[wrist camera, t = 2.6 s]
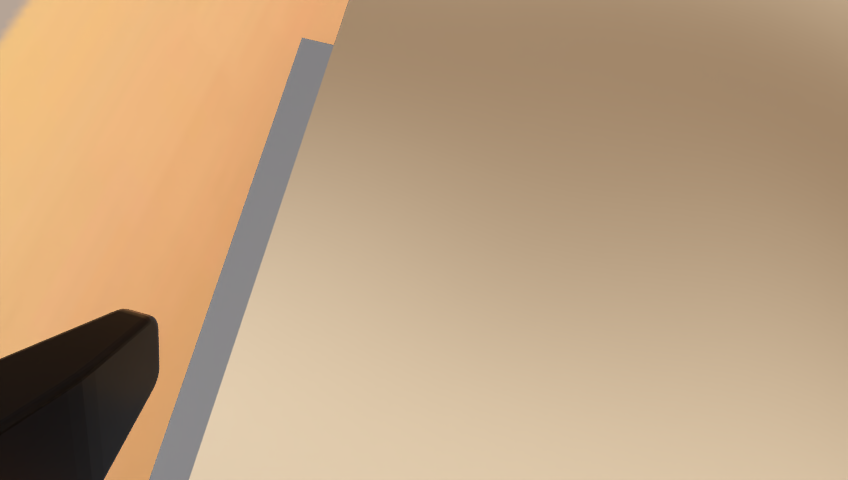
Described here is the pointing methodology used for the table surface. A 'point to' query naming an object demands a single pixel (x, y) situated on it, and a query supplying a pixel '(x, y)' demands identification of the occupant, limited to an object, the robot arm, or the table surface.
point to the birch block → (556, 251)
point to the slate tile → (241, 266)
